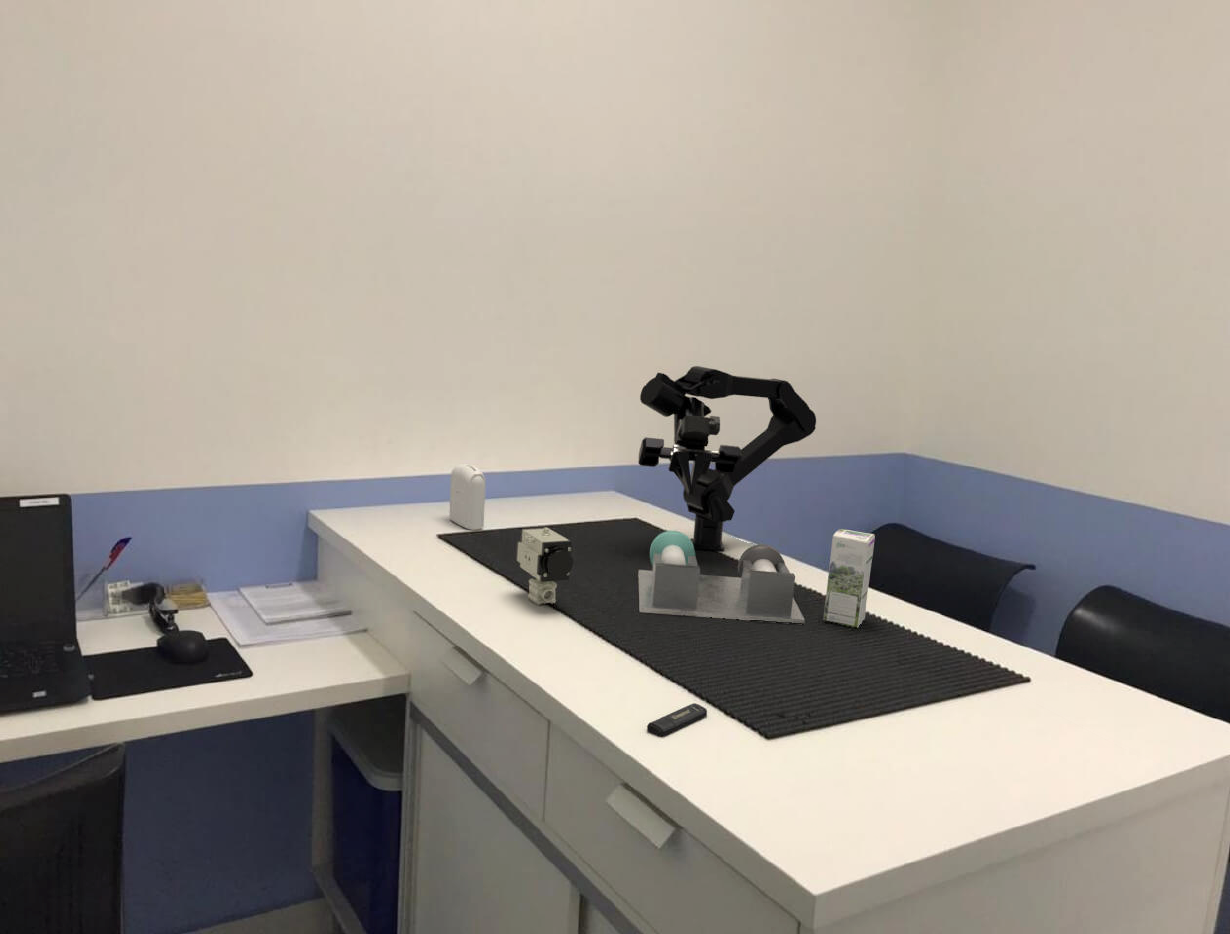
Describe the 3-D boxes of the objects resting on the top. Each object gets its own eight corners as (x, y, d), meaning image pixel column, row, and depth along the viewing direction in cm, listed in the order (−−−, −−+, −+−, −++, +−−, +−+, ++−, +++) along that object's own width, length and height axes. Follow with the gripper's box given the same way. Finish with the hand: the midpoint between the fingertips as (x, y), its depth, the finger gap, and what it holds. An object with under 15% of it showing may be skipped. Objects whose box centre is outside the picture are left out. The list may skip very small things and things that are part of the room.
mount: (638, 574, 184) (641, 533, 183) (784, 585, 184) (788, 545, 183) (639, 612, 163) (643, 566, 161) (804, 624, 163) (809, 579, 161)
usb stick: (661, 741, 118) (662, 728, 118) (643, 733, 120) (644, 721, 120) (709, 719, 125) (710, 707, 125) (691, 712, 127) (692, 700, 127)
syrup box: (865, 619, 168) (876, 533, 165) (857, 629, 162) (868, 540, 160) (830, 612, 170) (840, 527, 167) (822, 622, 165) (832, 534, 162)
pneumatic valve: (539, 589, 171) (544, 518, 168) (570, 611, 161) (576, 536, 158) (508, 592, 168) (512, 520, 166) (538, 614, 158) (543, 538, 156)
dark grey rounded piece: (736, 586, 177) (740, 542, 175) (781, 590, 177) (786, 546, 175) (743, 607, 166) (748, 560, 164) (791, 611, 166) (796, 564, 164)
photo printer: (446, 519, 214) (449, 460, 211) (465, 518, 216) (468, 460, 214) (466, 531, 205) (469, 470, 203) (486, 529, 207) (489, 469, 205)
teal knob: (648, 572, 182) (651, 528, 180) (692, 575, 182) (696, 532, 180) (649, 591, 170) (653, 545, 169) (696, 594, 170) (700, 548, 169)
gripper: (647, 394, 190) (647, 462, 181) (746, 404, 192) (751, 472, 183) (638, 430, 199) (637, 497, 190) (733, 439, 201) (737, 507, 192)
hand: (690, 493), depth 188 cm, fingers closed
